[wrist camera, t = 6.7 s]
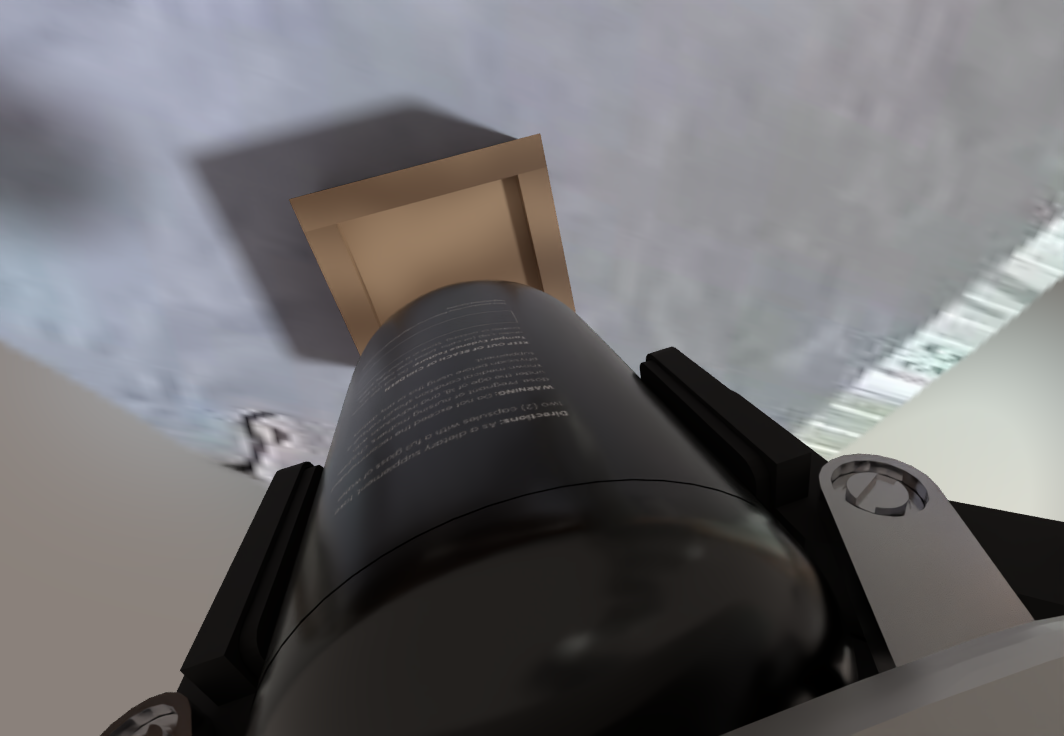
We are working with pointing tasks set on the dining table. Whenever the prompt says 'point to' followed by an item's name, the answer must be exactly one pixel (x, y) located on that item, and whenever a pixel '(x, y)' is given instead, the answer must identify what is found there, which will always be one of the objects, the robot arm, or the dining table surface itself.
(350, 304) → the display plinth
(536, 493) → the supplement bottle
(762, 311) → the dining table surface
